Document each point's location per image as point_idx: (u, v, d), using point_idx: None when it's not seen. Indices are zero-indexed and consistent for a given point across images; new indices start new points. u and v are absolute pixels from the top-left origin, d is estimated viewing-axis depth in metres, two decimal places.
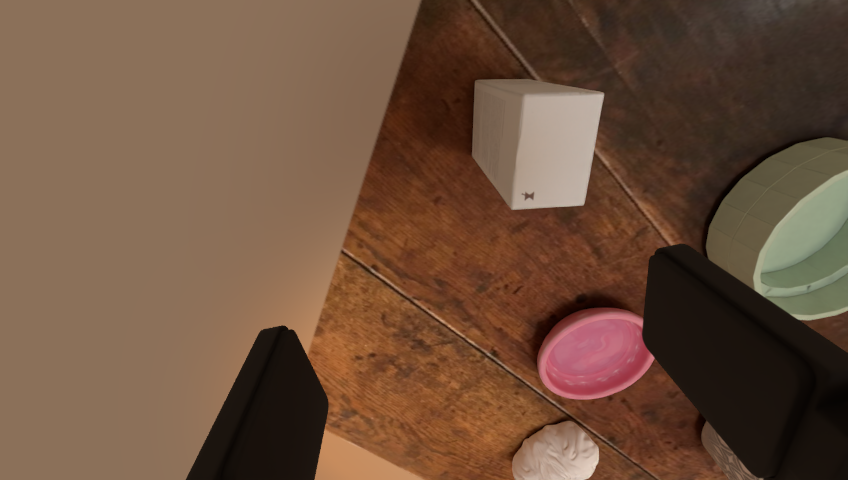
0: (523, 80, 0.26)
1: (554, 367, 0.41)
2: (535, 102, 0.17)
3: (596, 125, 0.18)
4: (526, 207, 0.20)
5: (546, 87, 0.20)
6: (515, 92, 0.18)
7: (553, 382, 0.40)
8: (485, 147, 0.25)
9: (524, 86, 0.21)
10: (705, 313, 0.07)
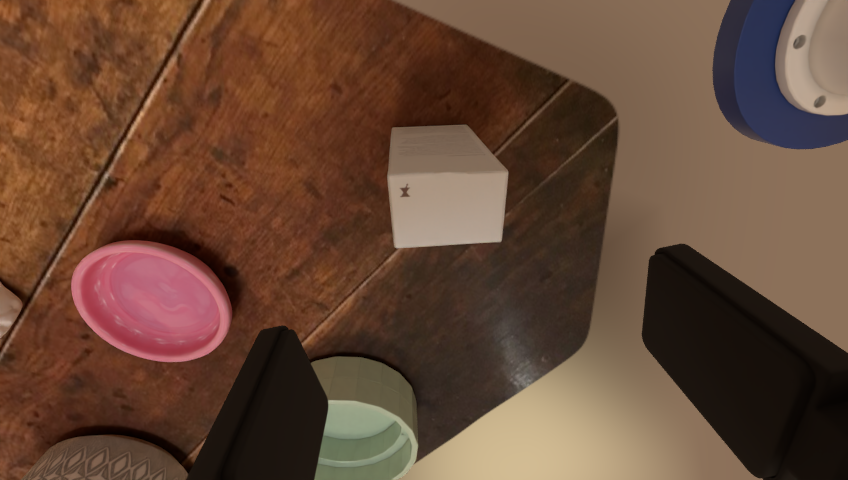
0: None
1: (116, 264, 0.31)
2: (500, 183, 0.18)
3: (475, 241, 0.19)
4: (391, 191, 0.18)
5: None
6: None
7: (92, 267, 0.29)
8: (419, 140, 0.24)
9: None
10: (705, 313, 0.07)
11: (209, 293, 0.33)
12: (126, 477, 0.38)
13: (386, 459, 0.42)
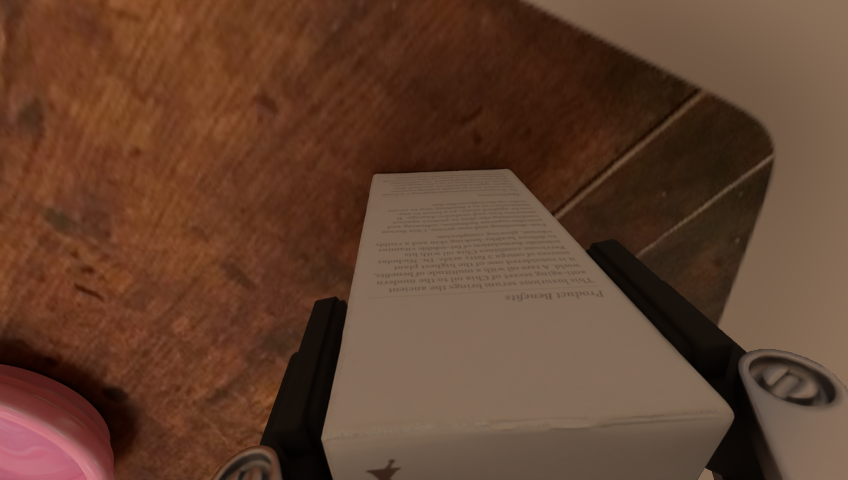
0: None
1: None
2: (704, 447, 0.05)
3: None
4: (338, 479, 0.05)
5: None
6: (672, 346, 0.06)
7: None
8: (424, 220, 0.11)
9: None
10: None
11: None
12: None
13: None
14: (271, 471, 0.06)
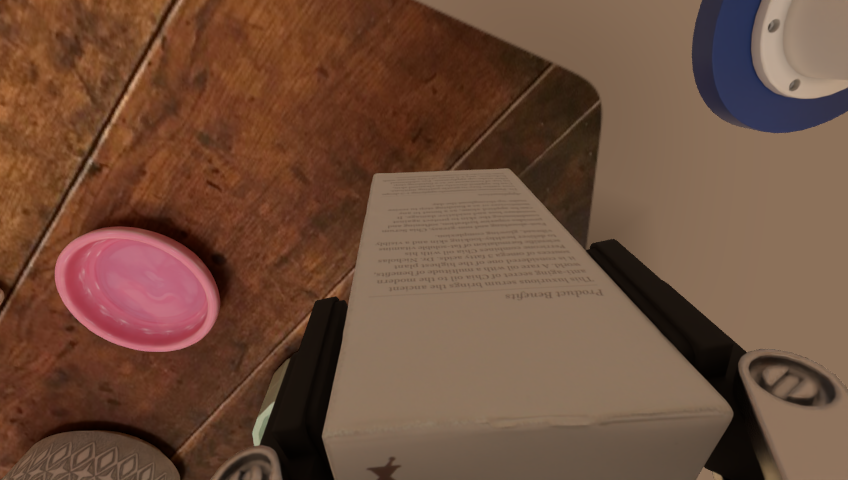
0: None
1: (101, 252, 0.31)
2: (703, 444, 0.05)
3: None
4: (339, 476, 0.05)
5: None
6: (672, 344, 0.06)
7: (76, 254, 0.29)
8: (425, 219, 0.11)
9: None
10: None
11: (196, 281, 0.33)
12: (113, 472, 0.38)
13: None
14: (271, 471, 0.06)
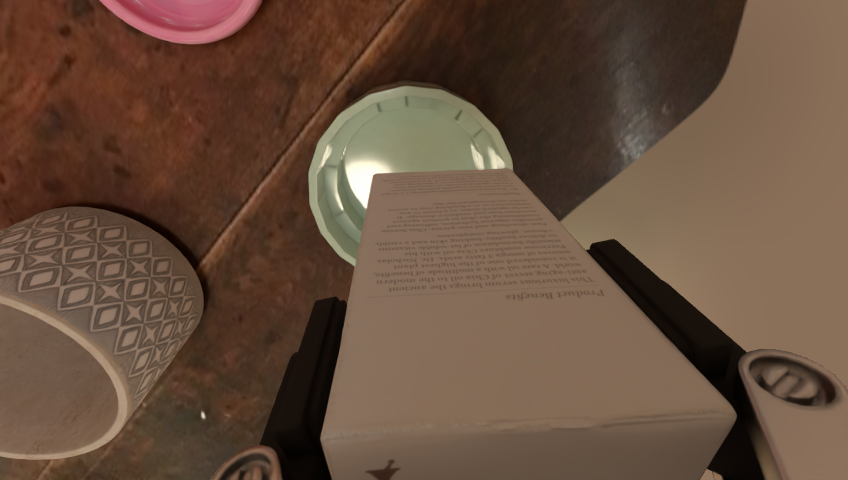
0: None
1: None
2: (706, 447, 0.05)
3: None
4: (337, 479, 0.05)
5: None
6: (674, 345, 0.06)
7: None
8: (424, 219, 0.11)
9: None
10: None
11: None
12: (121, 246, 0.29)
13: None
14: (271, 471, 0.06)
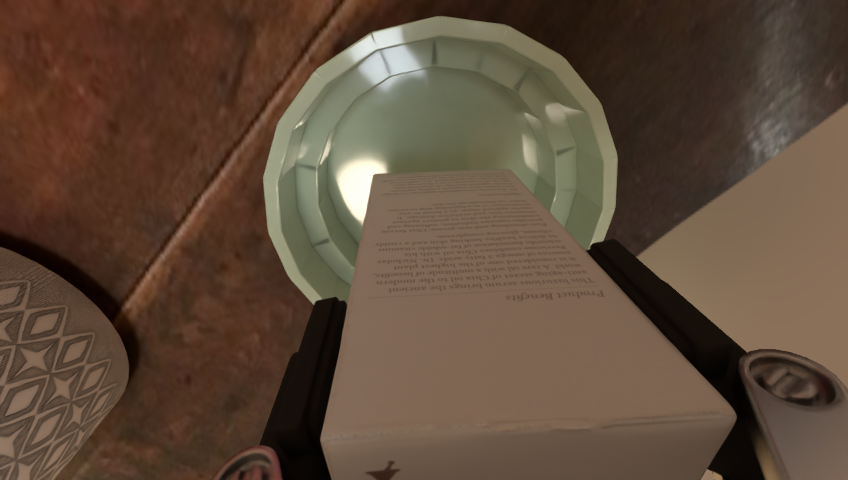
0: None
1: None
2: (706, 448, 0.05)
3: None
4: None
5: None
6: (674, 346, 0.06)
7: None
8: (424, 219, 0.11)
9: None
10: None
11: None
12: None
13: None
14: (271, 471, 0.06)
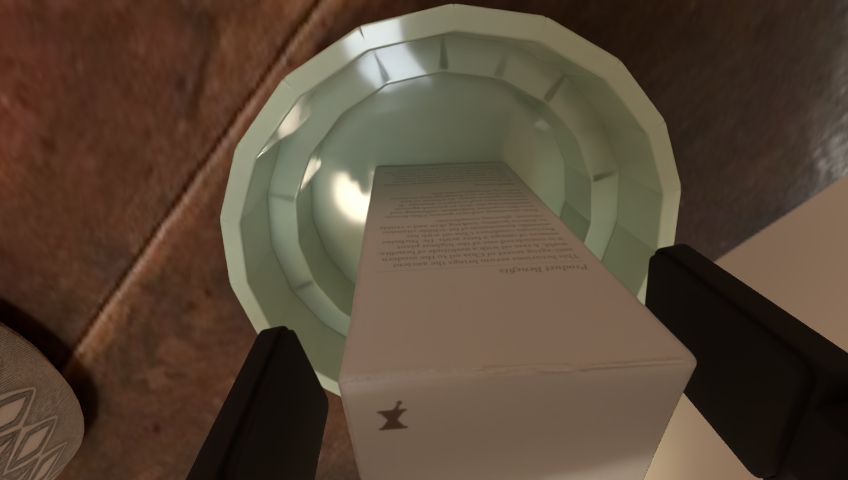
0: None
1: None
2: (671, 390, 0.06)
3: None
4: (352, 419, 0.06)
5: None
6: (647, 309, 0.07)
7: None
8: (425, 206, 0.12)
9: None
10: (705, 313, 0.07)
11: None
12: None
13: None
14: None
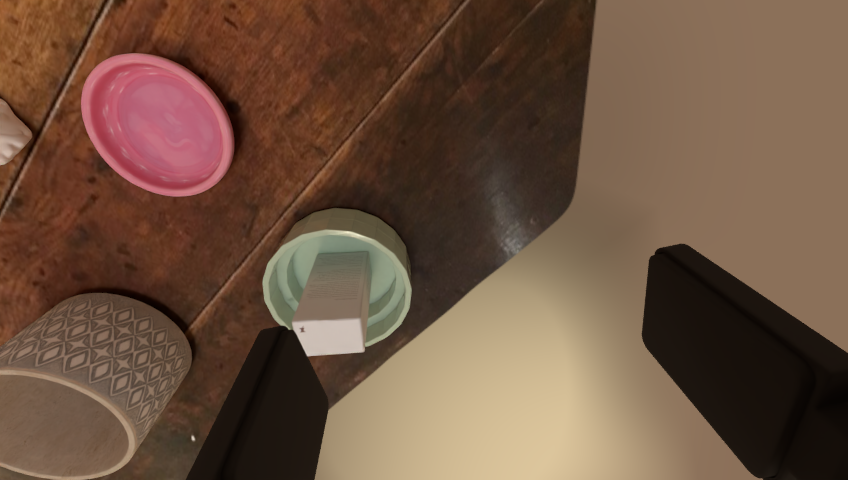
0: (370, 284, 0.41)
1: (123, 88, 0.33)
2: (356, 324, 0.32)
3: (347, 352, 0.33)
4: (294, 329, 0.32)
5: (365, 315, 0.35)
6: (361, 308, 0.33)
7: (101, 82, 0.31)
8: (326, 276, 0.37)
9: (365, 301, 0.36)
10: (705, 313, 0.07)
11: (212, 126, 0.35)
12: (130, 326, 0.40)
13: (381, 320, 0.43)
14: None
